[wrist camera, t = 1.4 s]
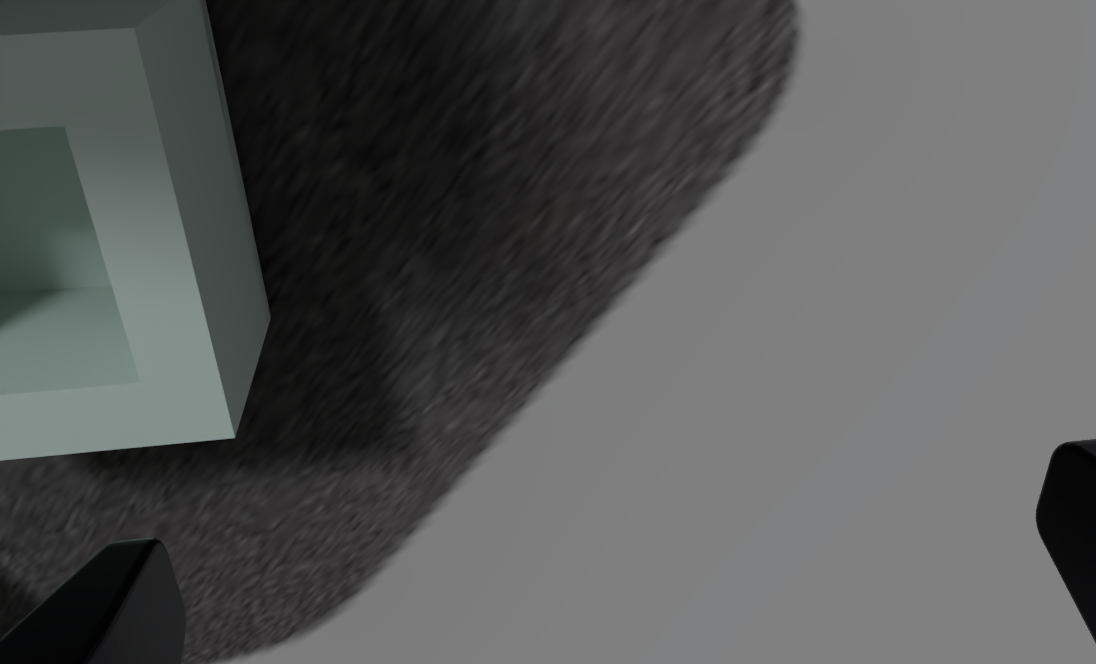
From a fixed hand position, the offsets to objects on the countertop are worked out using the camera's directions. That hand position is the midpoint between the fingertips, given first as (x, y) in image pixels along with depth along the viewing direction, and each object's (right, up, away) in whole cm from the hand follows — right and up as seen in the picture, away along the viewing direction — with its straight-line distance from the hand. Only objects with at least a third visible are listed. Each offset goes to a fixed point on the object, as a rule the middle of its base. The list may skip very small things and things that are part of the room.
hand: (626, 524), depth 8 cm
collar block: (-10, +5, +10) cm, 15 cm away
